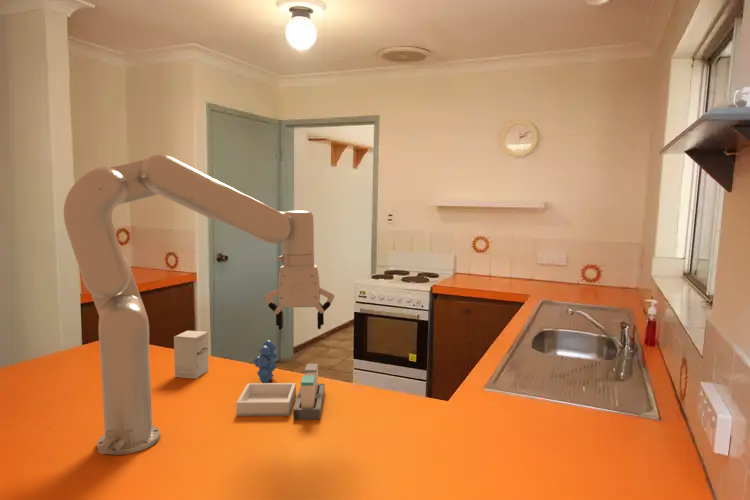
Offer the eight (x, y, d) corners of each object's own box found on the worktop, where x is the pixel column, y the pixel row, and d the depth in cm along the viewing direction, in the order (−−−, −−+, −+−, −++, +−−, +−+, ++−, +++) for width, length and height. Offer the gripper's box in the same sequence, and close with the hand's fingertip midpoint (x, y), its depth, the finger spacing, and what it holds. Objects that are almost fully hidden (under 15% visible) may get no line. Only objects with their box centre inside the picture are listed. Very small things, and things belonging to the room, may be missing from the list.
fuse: (316, 402, 137) (316, 370, 136) (305, 402, 137) (304, 370, 136) (318, 394, 142) (317, 363, 141) (307, 394, 142) (306, 363, 141)
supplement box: (196, 379, 153) (195, 337, 152) (174, 377, 155) (172, 336, 153) (209, 371, 160) (208, 331, 159) (187, 369, 162) (186, 329, 160)
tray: (289, 415, 129) (289, 402, 128) (236, 416, 128) (236, 402, 128) (295, 395, 141) (295, 383, 141) (248, 395, 141) (247, 383, 141)
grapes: (259, 373, 158) (259, 335, 157) (281, 374, 157) (280, 336, 156) (246, 387, 147) (245, 346, 145) (269, 389, 146) (269, 347, 145)
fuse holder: (319, 419, 127) (319, 409, 126) (293, 419, 126) (293, 409, 126) (324, 392, 144) (324, 383, 144) (301, 392, 144) (301, 383, 143)
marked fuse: (313, 416, 128) (313, 382, 127) (301, 416, 128) (301, 382, 127) (315, 408, 133) (315, 375, 132) (303, 408, 133) (303, 375, 132)
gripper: (261, 263, 124) (263, 332, 126) (333, 262, 125) (334, 331, 127) (266, 259, 132) (267, 324, 134) (334, 258, 132) (335, 323, 134)
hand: (300, 328), depth 130 cm, fingers open, 9 cm apart
